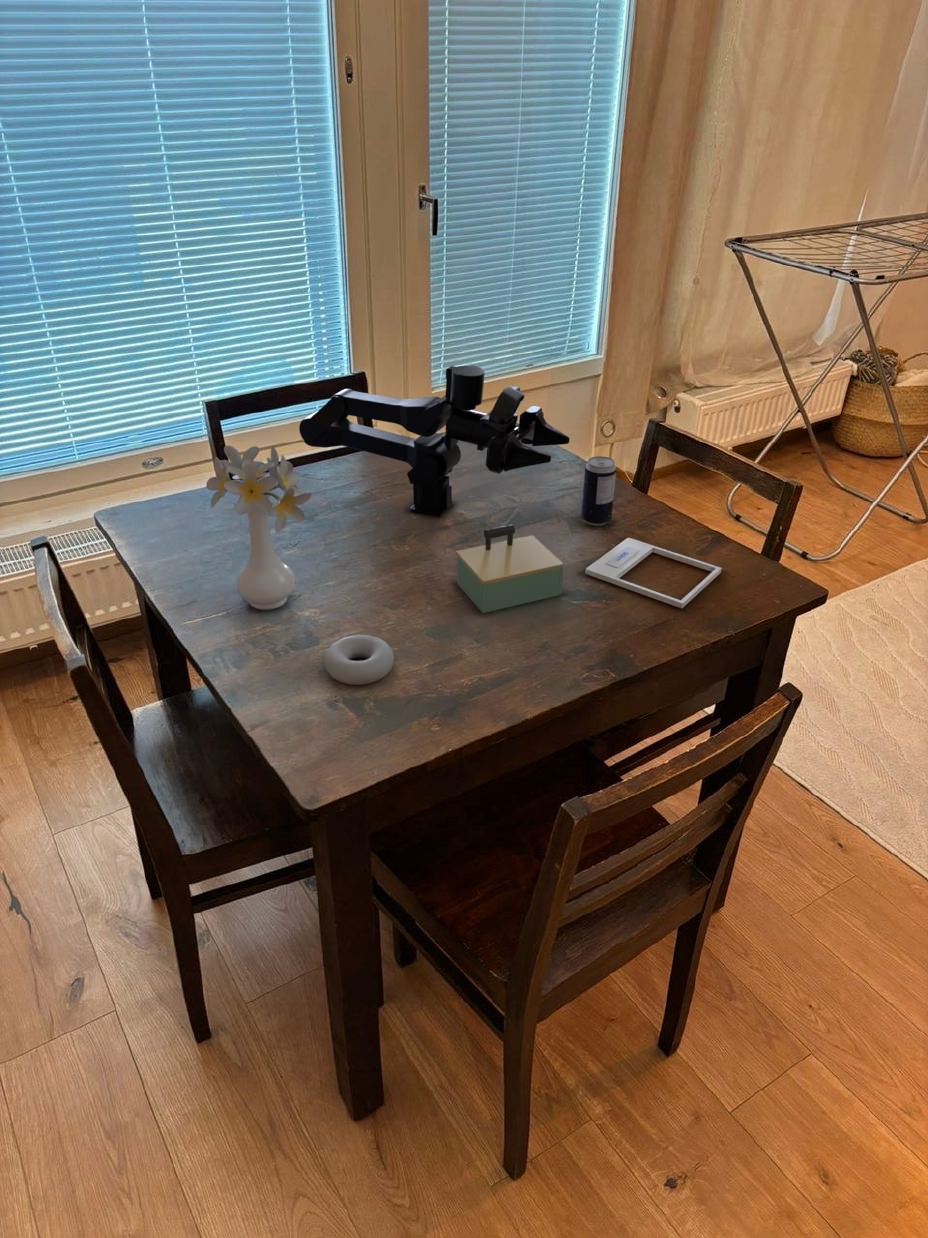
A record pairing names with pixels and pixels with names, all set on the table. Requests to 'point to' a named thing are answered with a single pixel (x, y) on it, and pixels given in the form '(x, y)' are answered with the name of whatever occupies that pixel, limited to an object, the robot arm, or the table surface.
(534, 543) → the lunchbox lid
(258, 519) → the flower vase
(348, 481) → the table surface
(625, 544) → the photo frame
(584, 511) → the beverage can
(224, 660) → the table surface
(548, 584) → the lunchbox
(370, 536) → the table surface
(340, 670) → the donut
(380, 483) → the table surface
